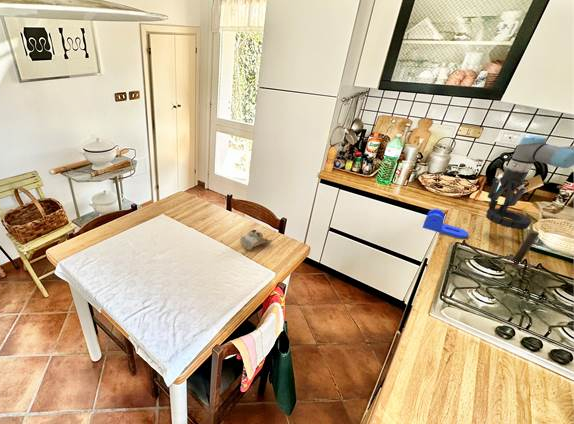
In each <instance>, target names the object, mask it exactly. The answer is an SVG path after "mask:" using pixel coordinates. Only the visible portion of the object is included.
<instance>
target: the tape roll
mask: <svg viewBox="0 0 574 424" xmlns="http://www.w3.org/2000/svg"><path fill="white" fill-rule="evenodd" d="M499 208H500V207H499ZM499 208H498V207H495V208H493V209H489V208H488V209H489V211H488V210H487V211H488V213H487V212H486V215H485V217H486V219H487V220H489V221H490V222H492V223H494V224H496V225H500V226H501V227H505V228H510V229H514V230H527V229H528V228H529V226H530V225H531V223H532V219H531V218H529V216H526V215H524V214H522V213H520V212H516V211H514V210H510V209H507V210H506V211H505V212H503V213H502V215H501V216H499V215H498V214H497V211H498V209H499Z"/></svg>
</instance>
